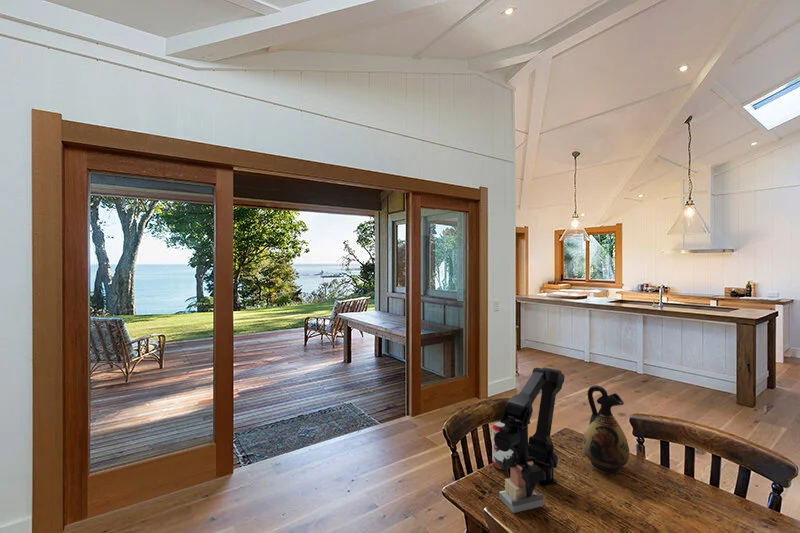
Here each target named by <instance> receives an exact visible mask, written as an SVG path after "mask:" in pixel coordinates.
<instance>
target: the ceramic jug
mask: <svg viewBox="0 0 800 533" xmlns="http://www.w3.org/2000/svg"><path fill="white" fill-rule="evenodd" d="M595 392H599V393H601V396H600V397H598V398H597V399H596V403H597V404H598V405H600V409H599V410H598V409H597V407H596V404H595V400H594V395H593V394H594V393H595ZM587 400H588V403H589V405H590V411H591V415H590V418H589V424H588V425H587V427H586V428H585V430H584V433H583V437H582V449H583V452H584V455H585V456H586V457H587V458H588V460H589V461H590V465H591V467H592V468H593V469H594V470H595V471H597V472H599V473H601V474H604V475H606V476H617V475H620V473H621V469H622V468H623V467H624V466H625V465H627V463H628V462H629V459H630V453H631V452H630V447H629V443H628V439H627V437H626V434H625V433H624V431H623V429H622V427H621V425H620V424H619V422H618V420H616V418H615V417H614V414H613V413H612V409H611V408H612V407H616V406H617V407H618V406H623V405H625V403H624V401H623V400H622V398H621V396H620V395H618V394H617V393H616V392H614V393H611V394H609V395H608V391H607V390H606V389H605V387H602V386H600V385H597V384H596V385H594V384H593V385H592V386H589V388H588V390H587Z"/></svg>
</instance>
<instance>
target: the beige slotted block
mask: <svg viewBox="0 0 800 533" xmlns="http://www.w3.org/2000/svg"><path fill="white" fill-rule="evenodd" d="M535 489H536V488H535ZM535 489H534V491H533V493H532V494H531V496H532V495H535V493H536V490H535ZM504 490H505V491H506V492H507V494H509V496H510V497H511V498H512V499H513V500H514V499H519V498H523V497H527V495H526V487H525V485H523V486H519V487H518V486H517V485H515V484H514V483H513V482H512V481H511V480H510V478H509V477H508V478H504Z"/></svg>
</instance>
